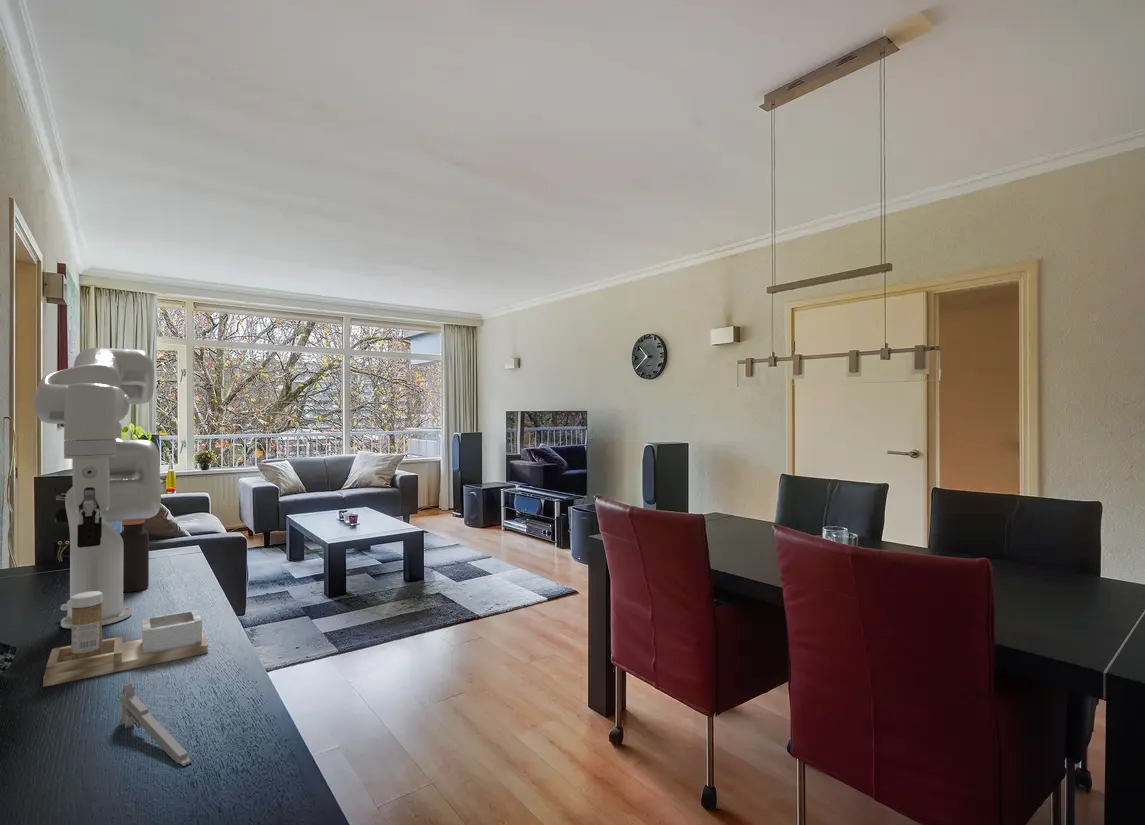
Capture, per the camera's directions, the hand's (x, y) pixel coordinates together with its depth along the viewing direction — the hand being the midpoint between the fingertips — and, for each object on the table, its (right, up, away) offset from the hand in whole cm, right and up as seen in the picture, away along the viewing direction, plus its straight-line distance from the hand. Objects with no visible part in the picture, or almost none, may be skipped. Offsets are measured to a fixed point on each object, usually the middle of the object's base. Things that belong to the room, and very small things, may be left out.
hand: (90, 542), depth 110 cm
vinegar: (-29, -24, +50) cm, 63 cm away
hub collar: (+10, -21, +7) cm, 25 cm away
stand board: (+5, -23, +3) cm, 24 cm away
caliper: (+31, -23, -27) cm, 46 cm away
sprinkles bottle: (0, -23, -1) cm, 23 cm away
